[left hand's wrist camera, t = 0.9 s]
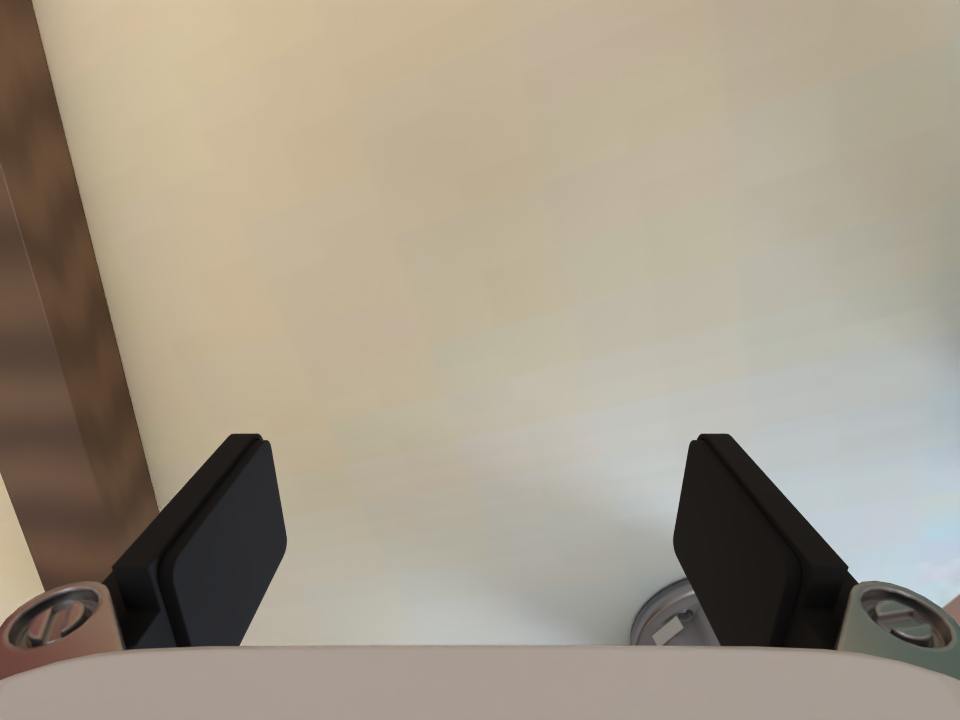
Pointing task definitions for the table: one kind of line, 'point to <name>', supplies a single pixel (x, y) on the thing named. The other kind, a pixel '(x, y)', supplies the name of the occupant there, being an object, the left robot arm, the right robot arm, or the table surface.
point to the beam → (58, 342)
